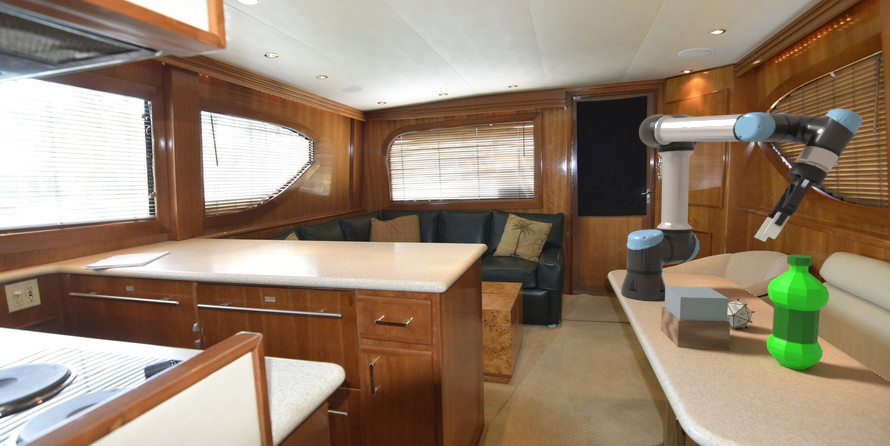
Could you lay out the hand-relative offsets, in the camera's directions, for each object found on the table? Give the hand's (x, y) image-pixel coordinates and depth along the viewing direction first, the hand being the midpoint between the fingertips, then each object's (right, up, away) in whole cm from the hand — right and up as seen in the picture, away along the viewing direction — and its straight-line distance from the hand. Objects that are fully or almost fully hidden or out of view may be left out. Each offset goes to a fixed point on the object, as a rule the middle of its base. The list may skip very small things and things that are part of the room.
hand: (763, 238), depth 116 cm
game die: (-4, -26, +6) cm, 27 cm away
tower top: (-20, -20, -2) cm, 28 cm away
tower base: (-20, -27, -1) cm, 33 cm away
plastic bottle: (-7, -28, -18) cm, 34 cm away
